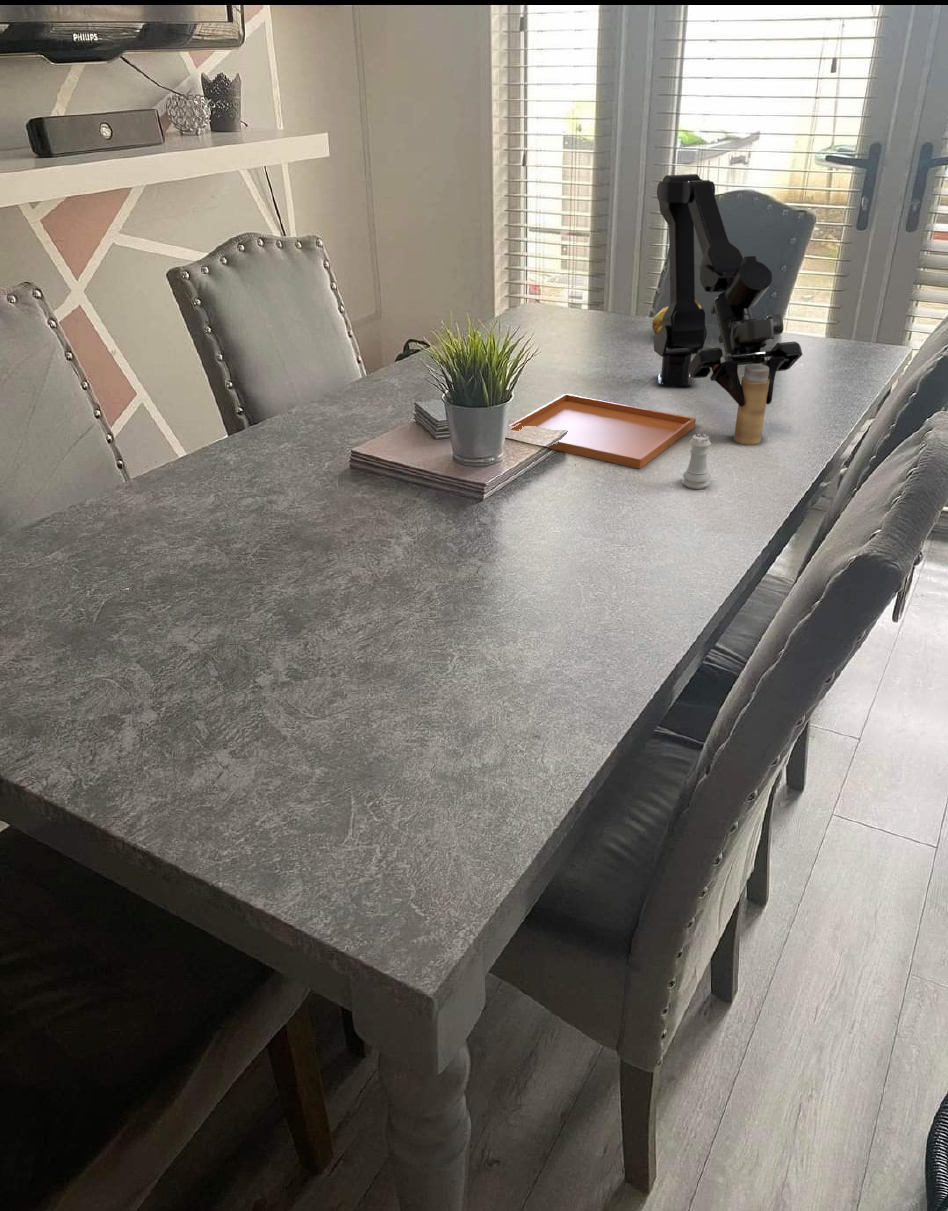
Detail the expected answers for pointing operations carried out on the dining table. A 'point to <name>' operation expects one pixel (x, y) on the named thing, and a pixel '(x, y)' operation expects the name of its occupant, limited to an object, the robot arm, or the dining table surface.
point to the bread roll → (658, 319)
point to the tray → (608, 429)
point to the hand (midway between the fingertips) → (756, 404)
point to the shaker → (752, 404)
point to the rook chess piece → (697, 464)
